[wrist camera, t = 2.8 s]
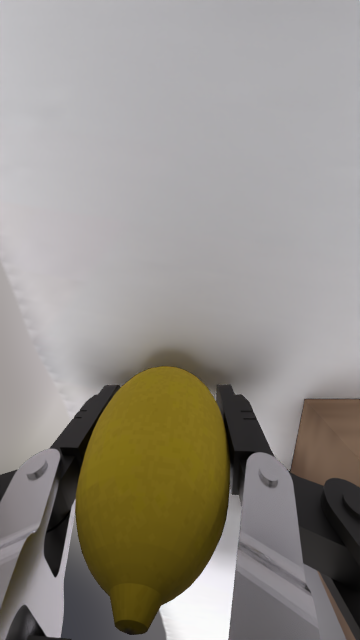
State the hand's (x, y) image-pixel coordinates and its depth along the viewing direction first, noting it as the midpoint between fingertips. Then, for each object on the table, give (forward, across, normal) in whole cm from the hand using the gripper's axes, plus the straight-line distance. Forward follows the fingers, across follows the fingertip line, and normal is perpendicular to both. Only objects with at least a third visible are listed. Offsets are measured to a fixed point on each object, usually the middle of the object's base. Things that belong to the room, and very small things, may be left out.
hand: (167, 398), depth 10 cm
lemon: (+2, 0, 0) cm, 2 cm away
